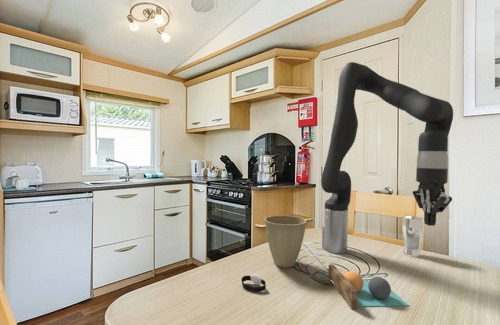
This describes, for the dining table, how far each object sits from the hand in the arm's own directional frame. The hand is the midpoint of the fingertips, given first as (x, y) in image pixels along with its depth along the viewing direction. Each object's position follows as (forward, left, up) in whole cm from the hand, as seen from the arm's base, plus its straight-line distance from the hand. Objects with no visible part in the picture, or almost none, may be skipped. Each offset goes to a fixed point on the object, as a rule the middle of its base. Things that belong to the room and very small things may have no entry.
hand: (429, 224), depth 74 cm
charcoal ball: (-7, -18, -16) cm, 25 cm away
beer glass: (-12, +26, -19) cm, 34 cm away
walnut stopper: (-15, -23, -19) cm, 33 cm away
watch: (-32, -41, -19) cm, 56 cm away
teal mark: (-10, -17, -19) cm, 27 cm away
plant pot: (-38, -21, -19) cm, 48 cm away
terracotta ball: (-13, -20, -16) cm, 29 cm away
